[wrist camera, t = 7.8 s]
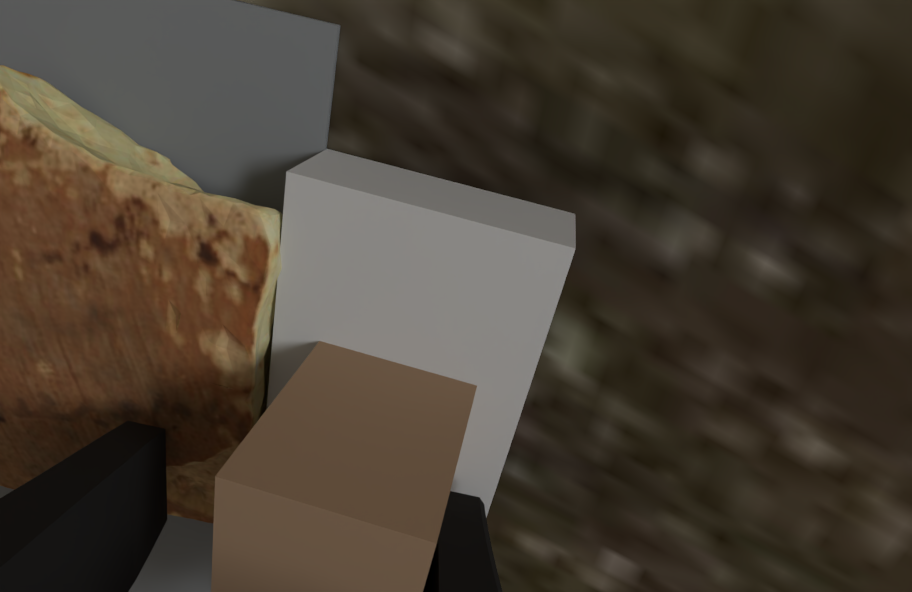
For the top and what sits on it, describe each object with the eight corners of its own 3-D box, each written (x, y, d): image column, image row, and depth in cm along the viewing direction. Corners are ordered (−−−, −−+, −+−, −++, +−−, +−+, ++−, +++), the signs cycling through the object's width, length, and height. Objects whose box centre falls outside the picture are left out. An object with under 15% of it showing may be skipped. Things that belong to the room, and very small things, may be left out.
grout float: (444, 619, 14) (391, 871, 10) (279, 568, 14) (161, 793, 10) (575, 213, 9) (578, 371, 5) (326, 148, 9) (144, 250, 5)
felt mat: (272, 626, 15) (270, 631, 15) (-148, 537, 15) (-153, 540, 15) (340, 25, 9) (338, 25, 8) (-398, -150, 8) (-409, -152, 8)
